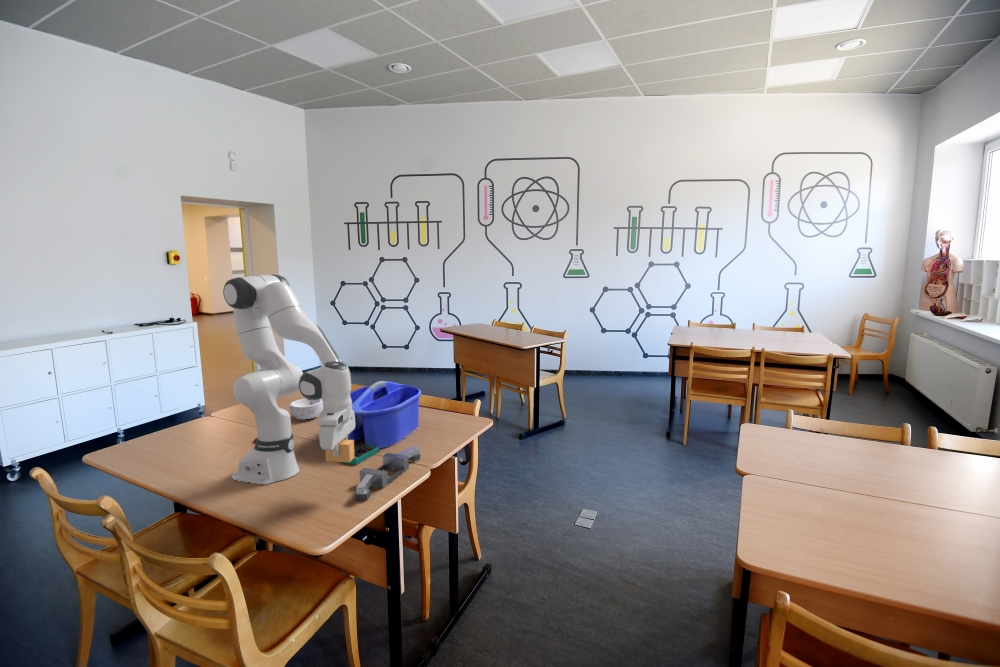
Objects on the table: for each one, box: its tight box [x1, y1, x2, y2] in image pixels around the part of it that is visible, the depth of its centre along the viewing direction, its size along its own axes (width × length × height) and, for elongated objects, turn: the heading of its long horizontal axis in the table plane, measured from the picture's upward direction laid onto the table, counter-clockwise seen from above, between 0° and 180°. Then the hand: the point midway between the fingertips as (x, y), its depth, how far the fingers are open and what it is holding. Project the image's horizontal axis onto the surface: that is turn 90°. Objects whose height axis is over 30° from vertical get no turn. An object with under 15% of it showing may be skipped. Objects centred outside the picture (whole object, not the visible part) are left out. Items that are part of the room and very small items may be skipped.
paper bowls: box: [289, 398, 323, 420], centre depth 246 cm, size 15×15×8 cm
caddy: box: [347, 380, 422, 450], centre depth 221 cm, size 32×45×23 cm
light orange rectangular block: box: [325, 440, 355, 463], centre depth 165 cm, size 8×4×6 cm, turn 85°
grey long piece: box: [354, 445, 421, 501], centre depth 179 cm, size 37×9×5 cm, turn 160°
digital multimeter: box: [342, 444, 380, 466], centre depth 197 cm, size 7×15×3 cm, turn 156°
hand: (339, 452), depth 165 cm, fingers closed on light orange rectangular block, 4 cm apart
